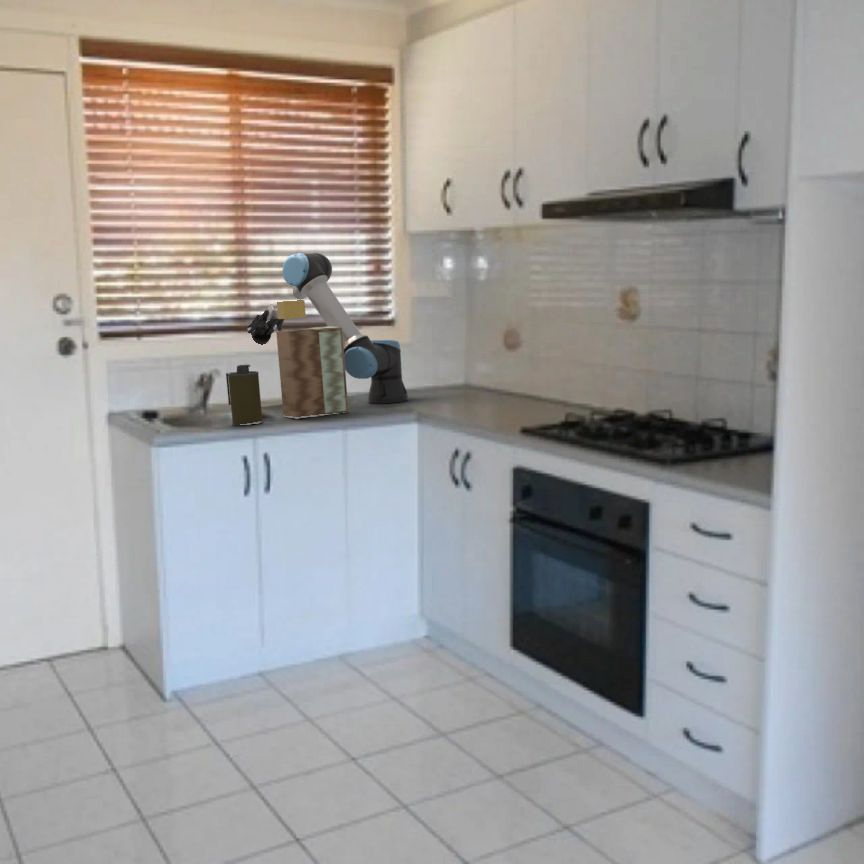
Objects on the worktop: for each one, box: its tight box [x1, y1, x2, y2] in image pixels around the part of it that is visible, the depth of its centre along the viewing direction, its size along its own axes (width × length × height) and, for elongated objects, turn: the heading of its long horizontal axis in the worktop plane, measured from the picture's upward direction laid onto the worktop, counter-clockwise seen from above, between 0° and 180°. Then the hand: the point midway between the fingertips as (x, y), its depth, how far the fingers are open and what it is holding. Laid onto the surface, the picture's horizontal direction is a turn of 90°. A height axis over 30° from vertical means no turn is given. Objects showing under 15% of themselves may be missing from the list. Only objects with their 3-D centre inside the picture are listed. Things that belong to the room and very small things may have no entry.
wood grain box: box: [276, 326, 349, 417], centre depth 354 cm, size 20×11×30 cm, turn 121°
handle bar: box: [269, 299, 307, 320], centre depth 364 cm, size 8×24×6 cm, turn 31°
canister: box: [225, 364, 263, 426], centre depth 344 cm, size 11×10×20 cm
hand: (276, 306), depth 367 cm, fingers closed on handle bar, 3 cm apart
